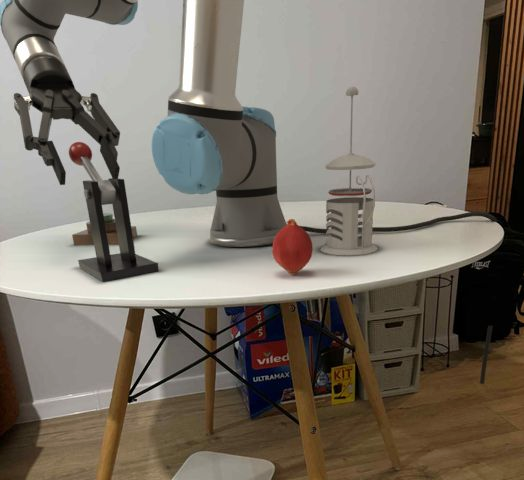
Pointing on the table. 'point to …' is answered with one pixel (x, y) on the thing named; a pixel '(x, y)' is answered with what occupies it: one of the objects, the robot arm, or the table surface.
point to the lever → (92, 171)
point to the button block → (87, 238)
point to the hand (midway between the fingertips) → (90, 176)
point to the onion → (292, 247)
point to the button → (108, 217)
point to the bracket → (126, 260)
